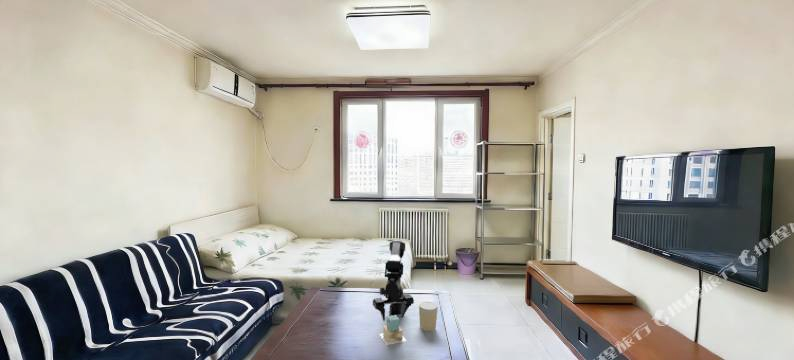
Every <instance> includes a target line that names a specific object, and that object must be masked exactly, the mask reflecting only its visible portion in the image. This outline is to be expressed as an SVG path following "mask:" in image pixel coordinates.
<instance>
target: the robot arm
mask: <svg viewBox="0 0 794 360" xmlns="http://www.w3.org/2000/svg"><path fill="white" fill-rule="evenodd" d="M388 247H389V251H390V256H388V257H387V261H385V267H384V268H385V269H384V270H385V271H384V278H387V281H386V285H385V287H380V288H379V295H380V296H383V297H385V299H382V297H376V298H373V300H372V306H373V307H374V309H375V310H377V311H379V312H380V315H381V318H382V321H383V322H386V321H385V320H386V309H385V306H386V305H389V311H388V312H389V314H390V316H392V315H396V316H398V315H400V316H401V318H402V319H403V318H404V316H405V314H406V312H407V311H408V309H409V307H410V306H412V305H413V304H415V299H414V297H413V296H412V295H411V294H410V293H404V288H403V287H402V284H401V278H402V276H403V275H404V264H403V262H402V258H403V256H404V255H405V252H406V242H403V241H401V240H399V239H397V240H396V239H395V240H392V241H390V242H389V246H388Z"/></svg>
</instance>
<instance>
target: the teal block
mask: <svg viewBox="0 0 794 360" xmlns="http://www.w3.org/2000/svg"><path fill="white" fill-rule="evenodd" d="M386 325H387V328H388V329H389V331H395V330H399V326H400V318H399V317H398V315H387V316H386Z"/></svg>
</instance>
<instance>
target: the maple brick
mask: <svg viewBox="0 0 794 360" xmlns="http://www.w3.org/2000/svg"><path fill="white" fill-rule="evenodd" d="M382 331H383V332H382V333H383V335H384V337H385V338H386V340H387V342H388V343H390V342H395V341H400V340H402V339H403V337H404V335H403V333H404V332H403V329H402V327H400V325H399V330H395V331H389V329H388V328H387V324H385V325H383V328H382Z"/></svg>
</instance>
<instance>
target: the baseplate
mask: <svg viewBox="0 0 794 360" xmlns="http://www.w3.org/2000/svg"><path fill="white" fill-rule="evenodd" d="M379 336H380V337H381V339H382V341H383V342H384V344H385V346H389V345H396V344H399V343H400V344H401V343H404V342H407V339H406V338H405V336H403V339H402V340H400V341H395V342H390V343H388V342H387V340H386V338H385V337H384V335H383V332H382V333H379Z"/></svg>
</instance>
